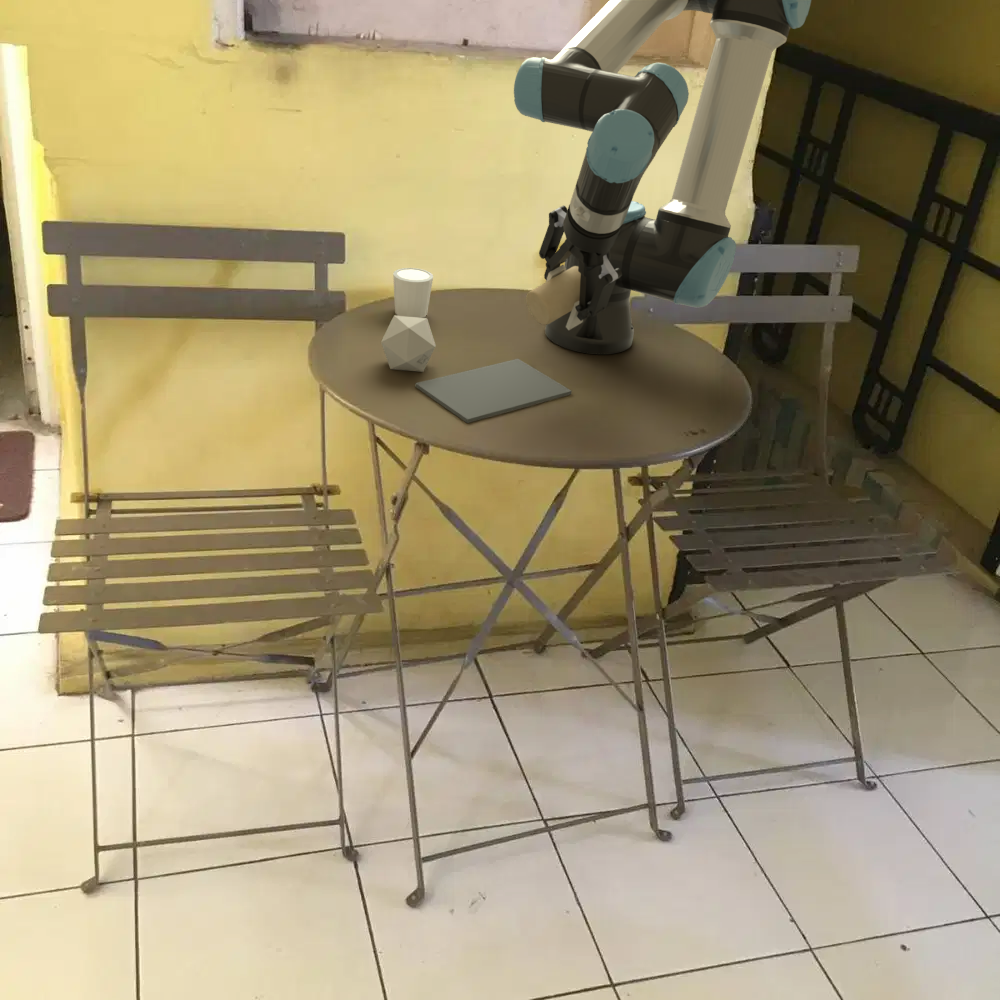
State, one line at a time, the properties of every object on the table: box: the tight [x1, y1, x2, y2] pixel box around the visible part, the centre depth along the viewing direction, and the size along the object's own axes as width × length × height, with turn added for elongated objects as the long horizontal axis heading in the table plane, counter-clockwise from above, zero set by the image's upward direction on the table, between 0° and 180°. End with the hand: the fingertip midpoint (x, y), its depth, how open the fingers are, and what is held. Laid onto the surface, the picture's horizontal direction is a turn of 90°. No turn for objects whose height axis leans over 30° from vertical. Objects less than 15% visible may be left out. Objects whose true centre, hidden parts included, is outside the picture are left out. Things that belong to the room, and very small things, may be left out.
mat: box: [415, 358, 573, 424], centre depth 154 cm, size 20×13×1 cm, turn 129°
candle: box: [525, 266, 581, 326], centre depth 151 cm, size 6×6×10 cm
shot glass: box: [392, 267, 434, 318], centre depth 175 cm, size 7×7×7 cm
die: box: [380, 314, 436, 373], centre depth 156 cm, size 8×9×10 cm
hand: (561, 309), depth 156 cm, fingers closed on candle, 5 cm apart
